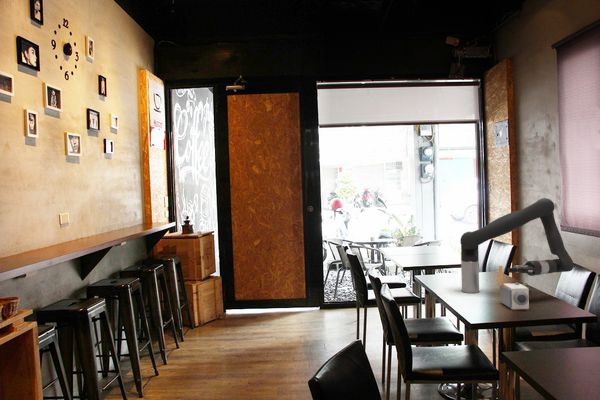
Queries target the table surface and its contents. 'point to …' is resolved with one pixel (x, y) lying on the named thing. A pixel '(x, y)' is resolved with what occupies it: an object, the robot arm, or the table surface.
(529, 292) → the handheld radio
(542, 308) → the table surface
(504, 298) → the side door
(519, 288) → the camera body
